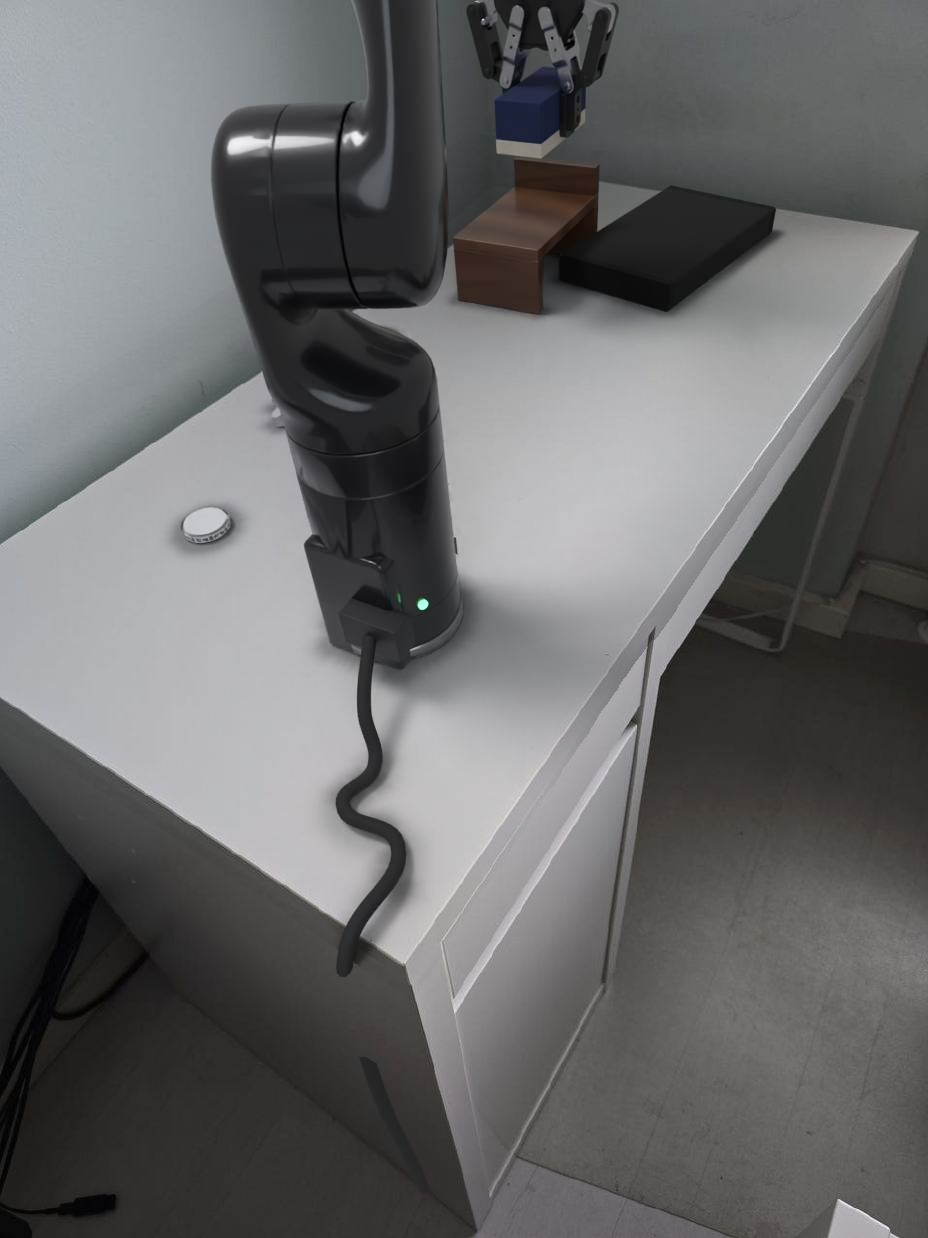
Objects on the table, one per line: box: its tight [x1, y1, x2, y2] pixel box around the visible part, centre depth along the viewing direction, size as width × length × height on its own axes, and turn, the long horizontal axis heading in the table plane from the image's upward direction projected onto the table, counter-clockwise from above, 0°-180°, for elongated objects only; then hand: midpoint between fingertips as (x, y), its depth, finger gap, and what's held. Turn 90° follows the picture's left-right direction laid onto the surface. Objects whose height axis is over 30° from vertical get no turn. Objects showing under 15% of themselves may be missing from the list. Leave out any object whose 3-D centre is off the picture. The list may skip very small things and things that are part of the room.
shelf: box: [452, 156, 601, 315], centre depth 97 cm, size 16×10×10 cm, turn 151°
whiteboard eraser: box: [494, 66, 587, 159], centre depth 81 cm, size 10×5×4 cm, turn 151°
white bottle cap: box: [180, 505, 232, 544], centre depth 72 cm, size 4×4×1 cm
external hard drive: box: [558, 185, 777, 313], centre depth 100 cm, size 14×23×3 cm, turn 139°
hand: (542, 131), depth 82 cm, fingers closed on whiteboard eraser, 4 cm apart
